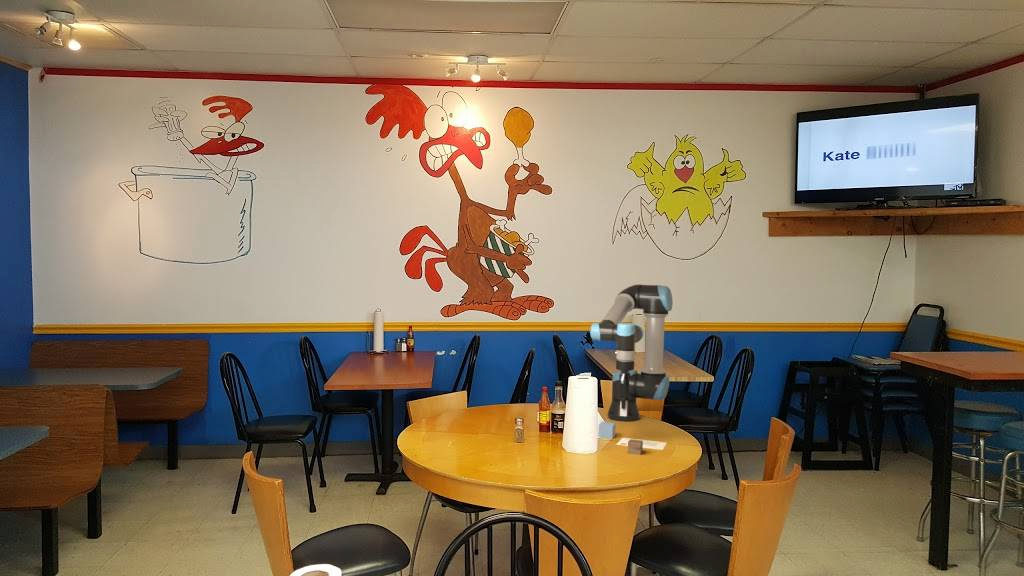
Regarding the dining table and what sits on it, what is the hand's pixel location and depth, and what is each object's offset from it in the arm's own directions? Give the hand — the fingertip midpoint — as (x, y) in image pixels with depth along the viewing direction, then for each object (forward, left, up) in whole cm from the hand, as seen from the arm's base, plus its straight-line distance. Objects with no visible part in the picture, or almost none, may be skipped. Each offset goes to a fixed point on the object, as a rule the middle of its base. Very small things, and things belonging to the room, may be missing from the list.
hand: (623, 415), depth 317 cm
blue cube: (-6, -8, -12) cm, 15 cm away
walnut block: (+14, +8, -12) cm, 20 cm away
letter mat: (-1, +8, -11) cm, 14 cm away
